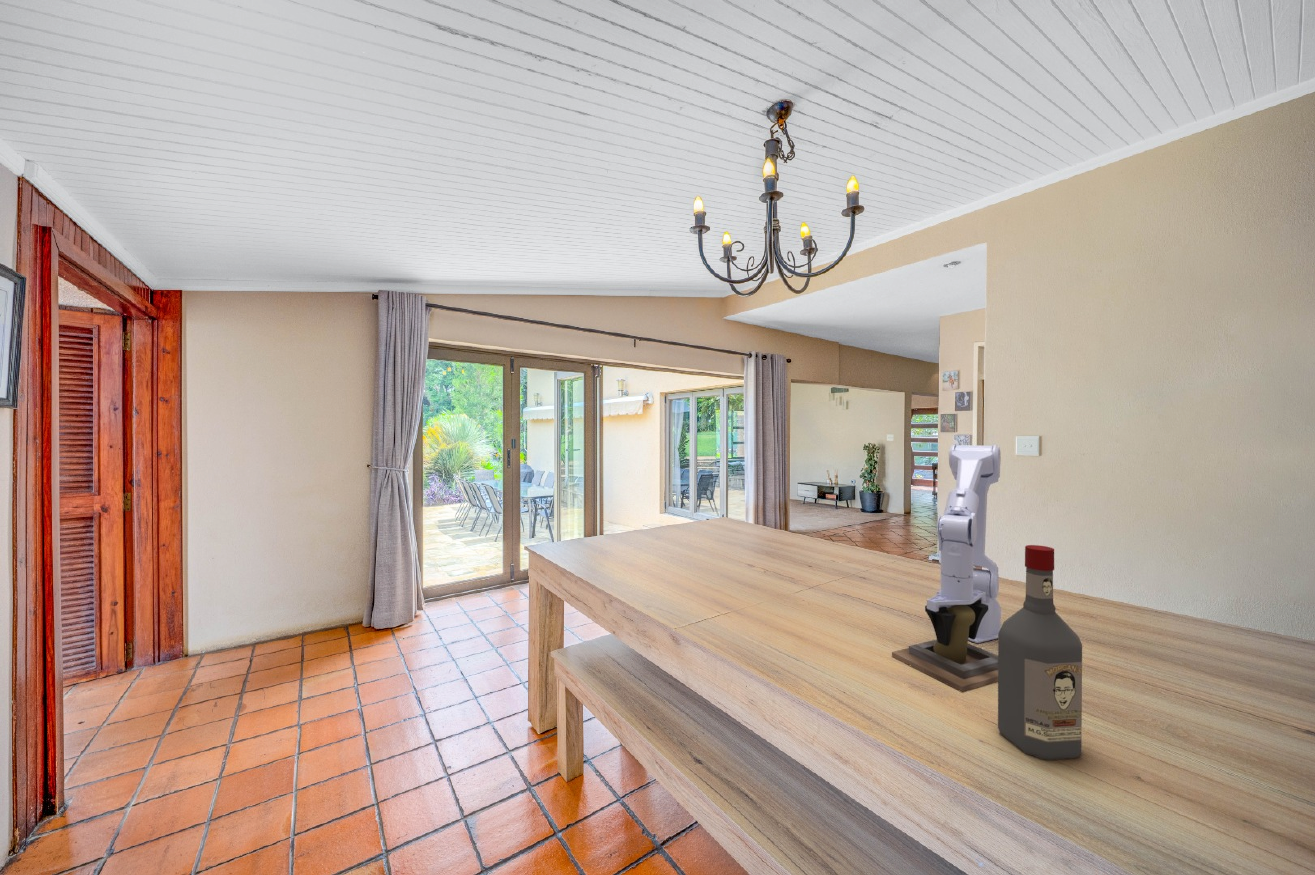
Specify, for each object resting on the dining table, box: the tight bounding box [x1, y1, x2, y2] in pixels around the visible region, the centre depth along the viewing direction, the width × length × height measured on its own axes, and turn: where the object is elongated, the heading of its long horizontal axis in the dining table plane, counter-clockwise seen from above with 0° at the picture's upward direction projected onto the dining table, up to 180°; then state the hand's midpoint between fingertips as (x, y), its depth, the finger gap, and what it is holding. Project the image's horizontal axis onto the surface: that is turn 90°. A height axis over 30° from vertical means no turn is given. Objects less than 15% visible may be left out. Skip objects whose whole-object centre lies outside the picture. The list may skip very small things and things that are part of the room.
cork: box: [933, 605, 975, 663], centre depth 105 cm, size 6×6×11 cm
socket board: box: [891, 638, 998, 693], centre depth 106 cm, size 18×16×2 cm
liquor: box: [997, 544, 1083, 761], centre depth 80 cm, size 9×9×30 cm
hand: (956, 640), depth 106 cm, fingers open, 7 cm apart
